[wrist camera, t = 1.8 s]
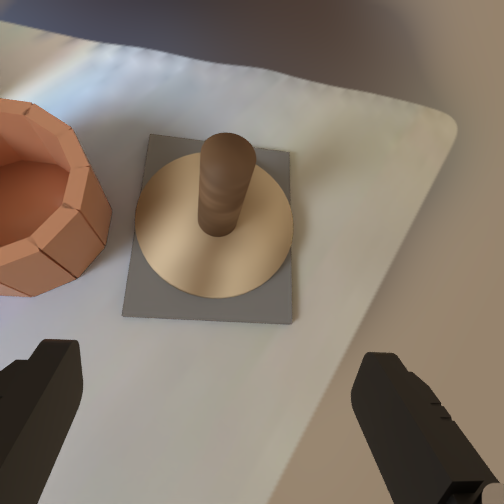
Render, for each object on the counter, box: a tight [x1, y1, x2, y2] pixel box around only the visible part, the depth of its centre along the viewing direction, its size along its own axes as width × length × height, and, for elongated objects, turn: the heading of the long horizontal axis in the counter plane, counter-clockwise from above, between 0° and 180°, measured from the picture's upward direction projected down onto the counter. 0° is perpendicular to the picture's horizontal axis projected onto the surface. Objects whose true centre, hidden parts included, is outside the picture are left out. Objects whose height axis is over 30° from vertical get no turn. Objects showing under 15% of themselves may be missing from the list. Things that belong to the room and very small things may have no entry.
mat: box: [122, 134, 292, 324], centre depth 26 cm, size 12×15×1 cm
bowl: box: [0, 98, 112, 297], centre depth 21 cm, size 11×11×6 cm
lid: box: [135, 133, 293, 299], centre depth 22 cm, size 12×12×9 cm
